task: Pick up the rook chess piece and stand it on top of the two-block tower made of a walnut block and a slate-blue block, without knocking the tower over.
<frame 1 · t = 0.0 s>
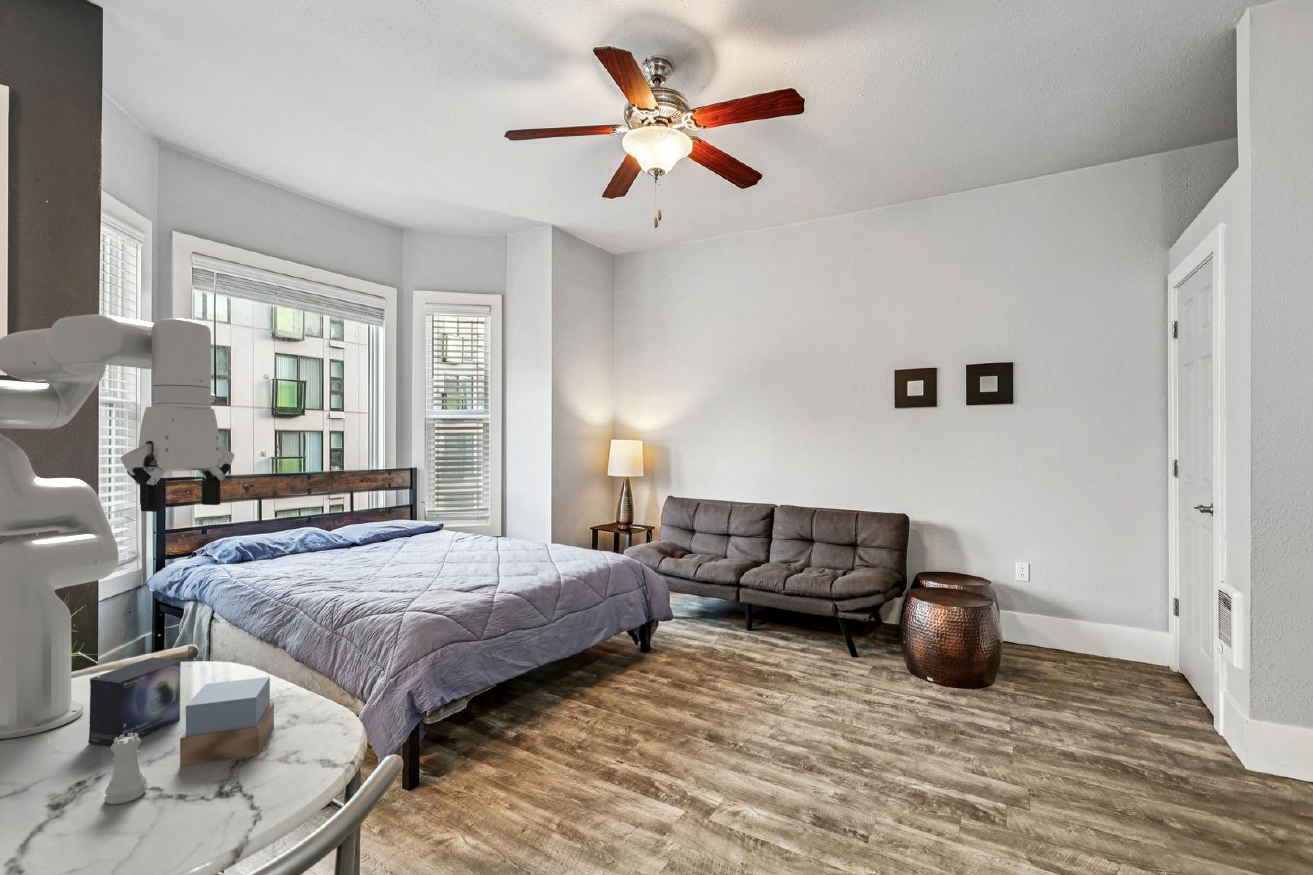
hand: (182, 507, 100), 37 cm above the table, tool pointing down, fingers open, 9 cm apart
rook chess piece: (126, 798, 86), on the table
slate-blue block: (230, 719, 100), point 4 cm above the table, touching walnut block
walnut block: (230, 747, 100), on the table, touching slate-blue block
small box: (136, 733, 105), on the table
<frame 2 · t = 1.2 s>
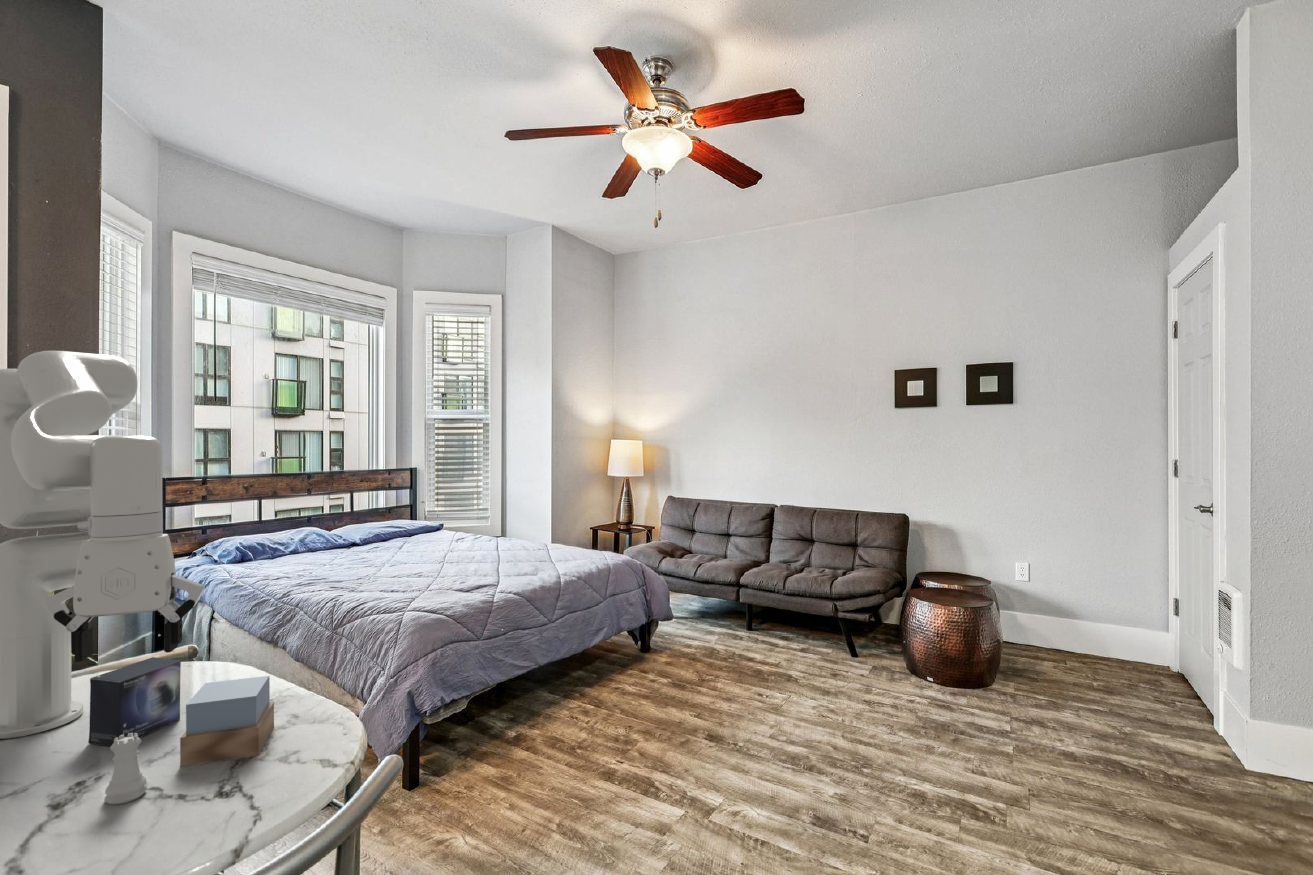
hand: (128, 654, 86), 19 cm above the table, tool pointing down, fingers open, 9 cm apart
nothing on the table moved.
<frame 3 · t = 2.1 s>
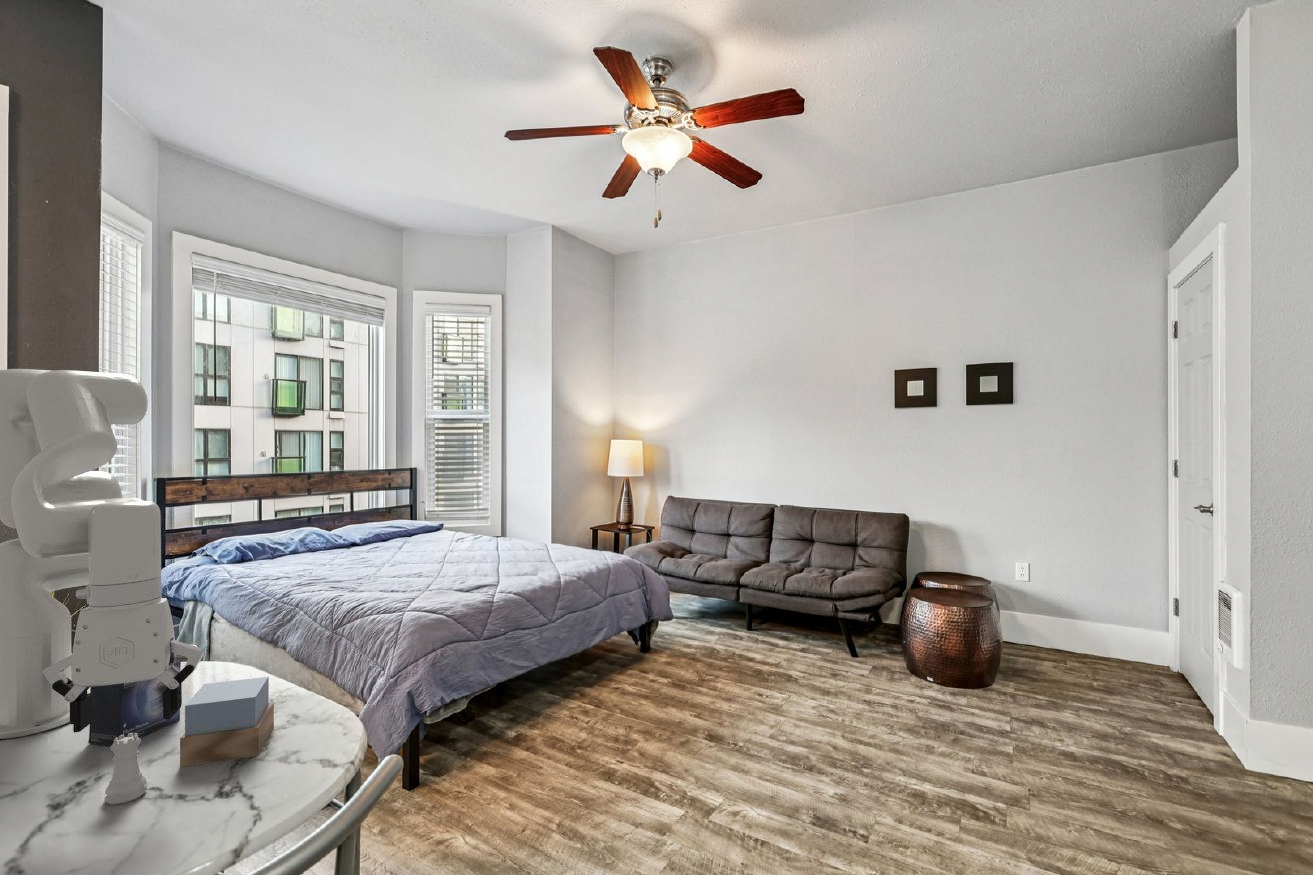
hand: (127, 721, 85), 10 cm above the table, tool pointing down, fingers open, 9 cm apart
nothing on the table moved.
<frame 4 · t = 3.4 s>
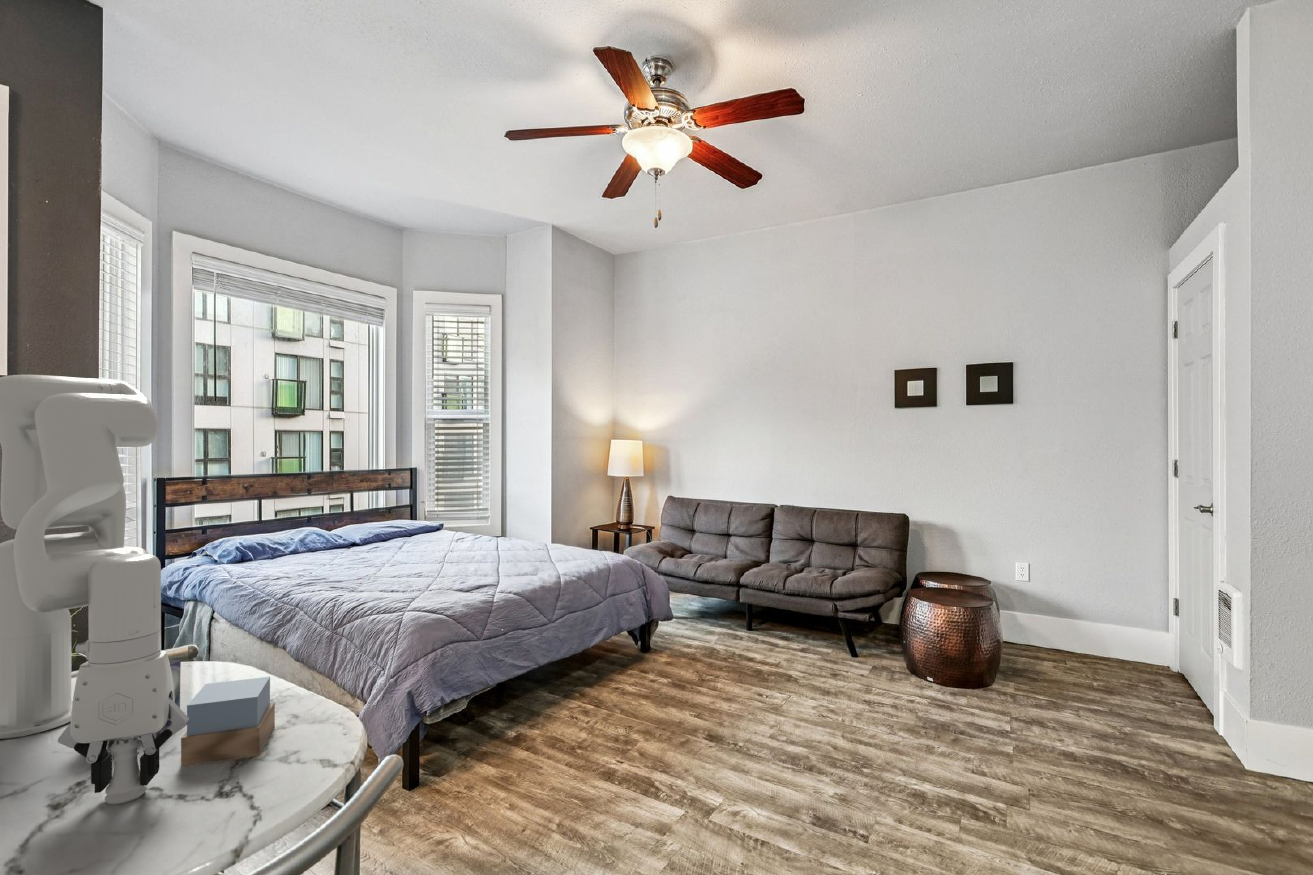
hand: (126, 782, 86), 2 cm above the table, tool pointing down, fingers closed on rook chess piece, 4 cm apart
rook chess piece: (126, 797, 86), on the table, touching gripper
everything else where it was.
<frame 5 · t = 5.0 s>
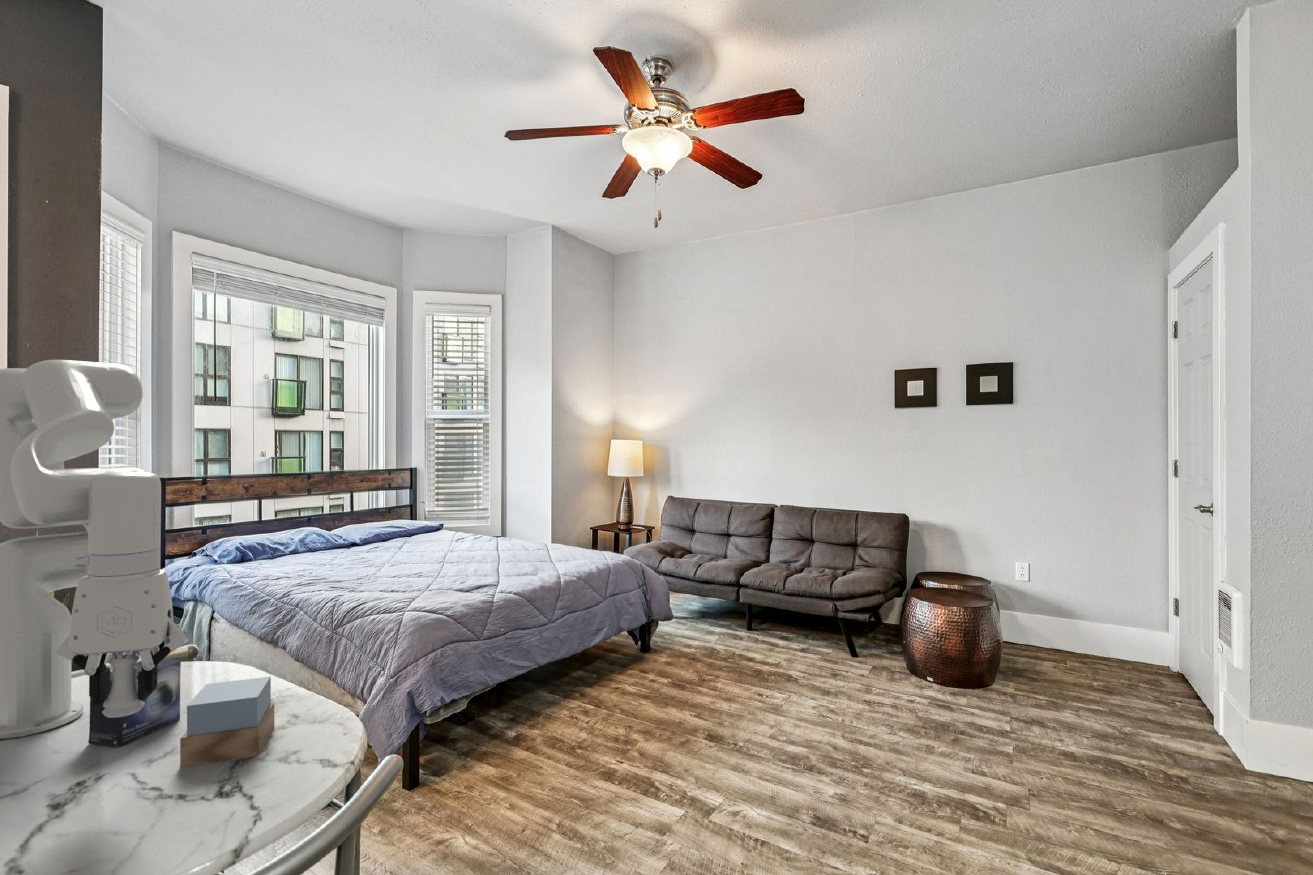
hand: (123, 697, 86), 13 cm above the table, tool pointing down, fingers closed on rook chess piece, 4 cm apart
rook chess piece: (123, 712, 86), point 11 cm above the table, touching gripper
everything else where it was.
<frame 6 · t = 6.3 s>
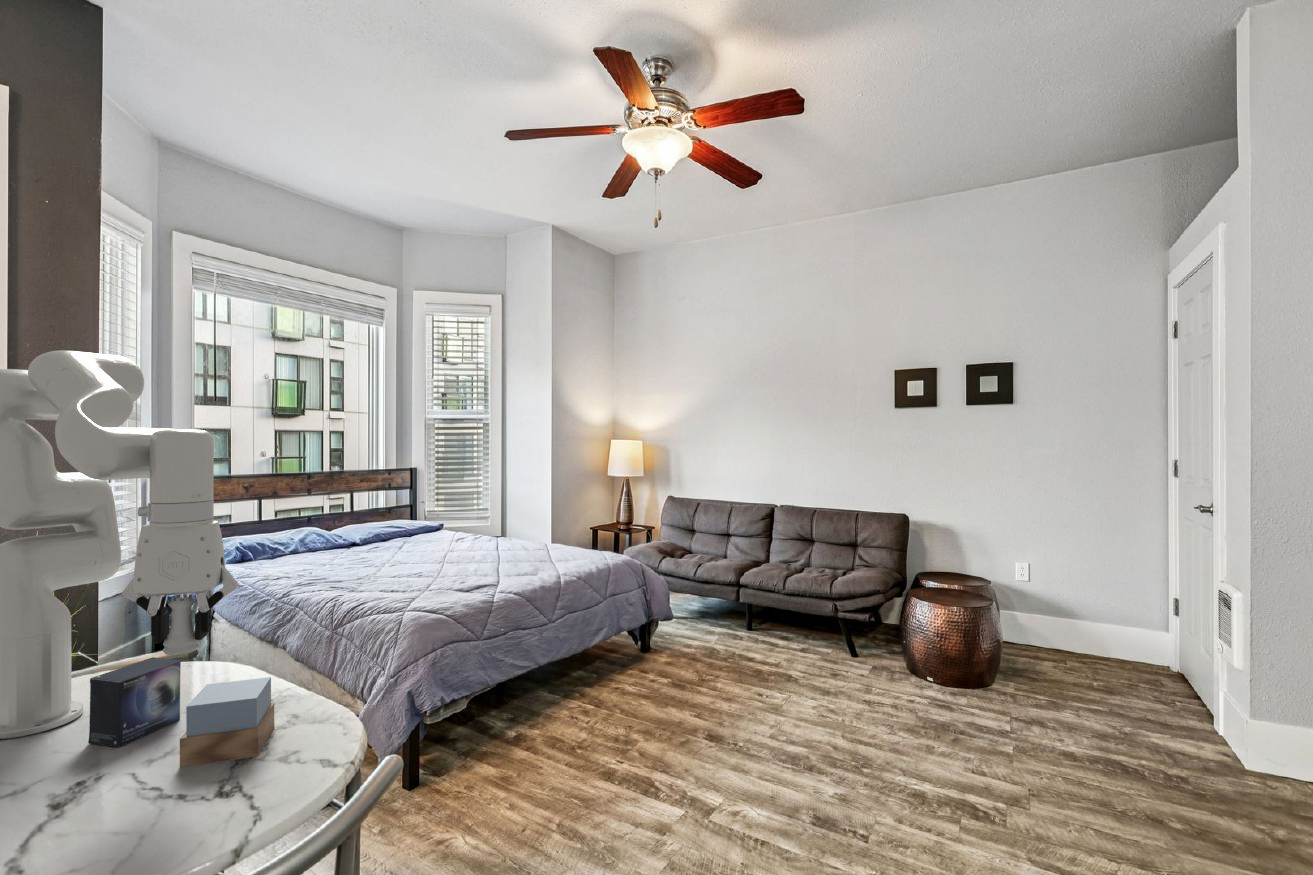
hand: (181, 637, 93), 19 cm above the table, tool pointing down, fingers closed on rook chess piece, 4 cm apart
rook chess piece: (181, 652, 93), point 17 cm above the table, touching gripper
slate-blue block: (231, 719, 100), point 4 cm above the table
walnut block: (230, 748, 100), on the table
everything else where it was.
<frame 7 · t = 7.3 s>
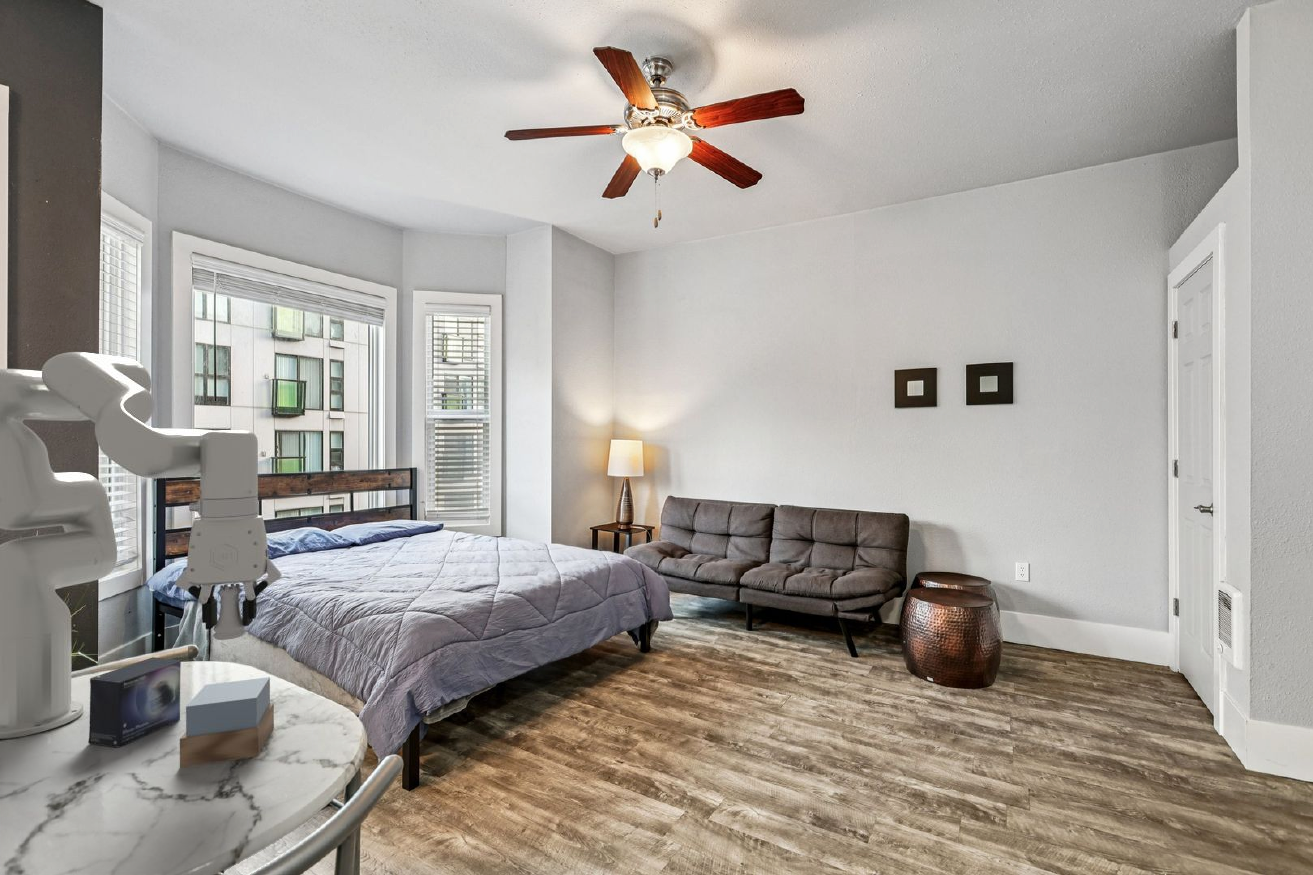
hand: (229, 624, 100), 19 cm above the table, tool pointing down, fingers closed on rook chess piece, 4 cm apart
rook chess piece: (229, 637, 100), point 17 cm above the table, touching gripper
slate-blue block: (230, 719, 100), point 4 cm above the table, touching walnut block
walnut block: (229, 748, 100), on the table, touching slate-blue block
everything else where it was.
when the fingers open (11 cm above the table, at t = 10.0 s): rook chess piece stays where it is, point 9 cm above the table.
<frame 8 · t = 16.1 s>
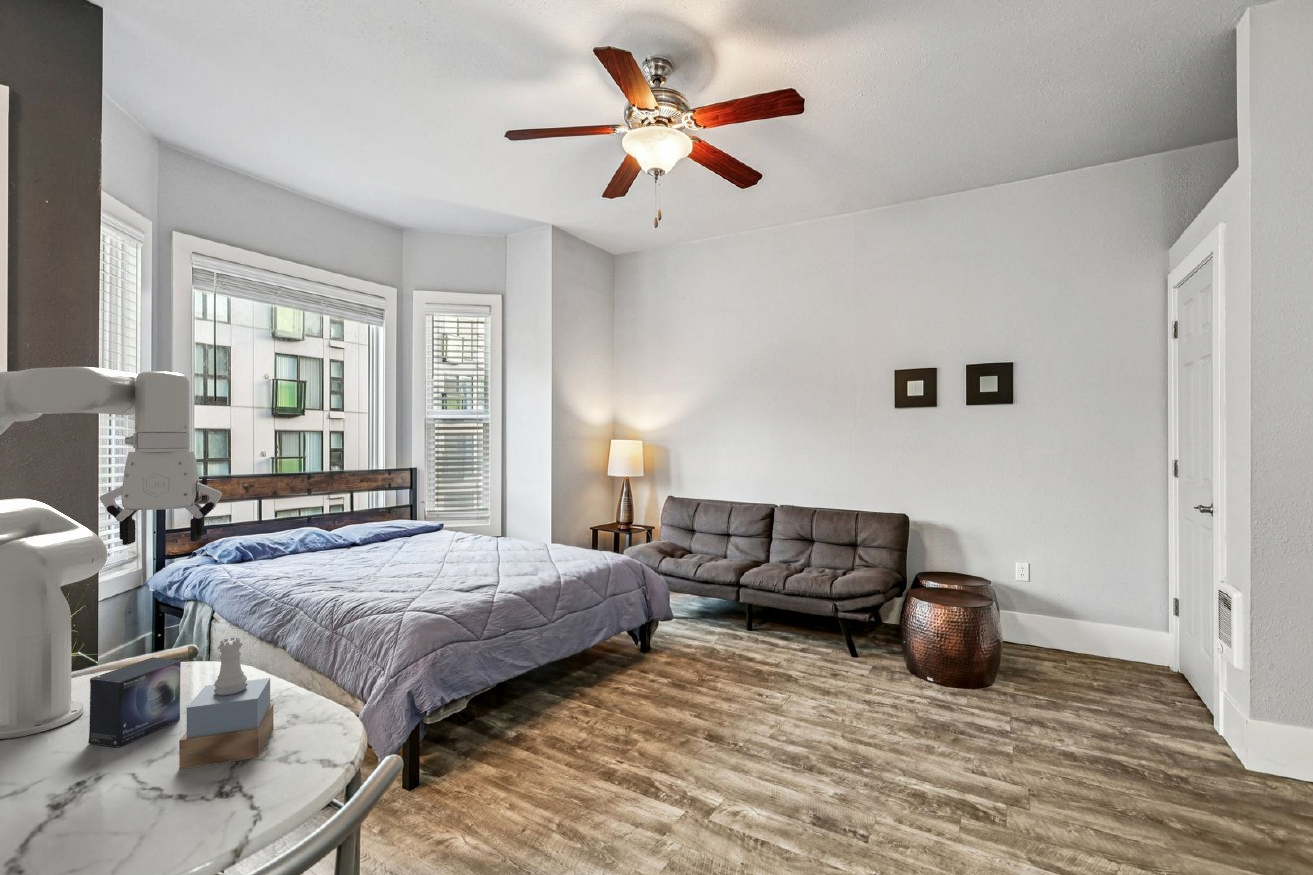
hand: (162, 542, 110), 30 cm above the table, tool pointing down, fingers open, 9 cm apart
rook chess piece: (230, 691, 99), point 9 cm above the table
everything else where it was.
at the end: rook chess piece 0.3 cm off-centre on the slate-blue block, point 4.4 cm above the slate-blue block's base; rook chess piece tilted 1°; slate-blue block 0.2 cm off-centre on the walnut block, point 4.5 cm above the walnut block's base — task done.
